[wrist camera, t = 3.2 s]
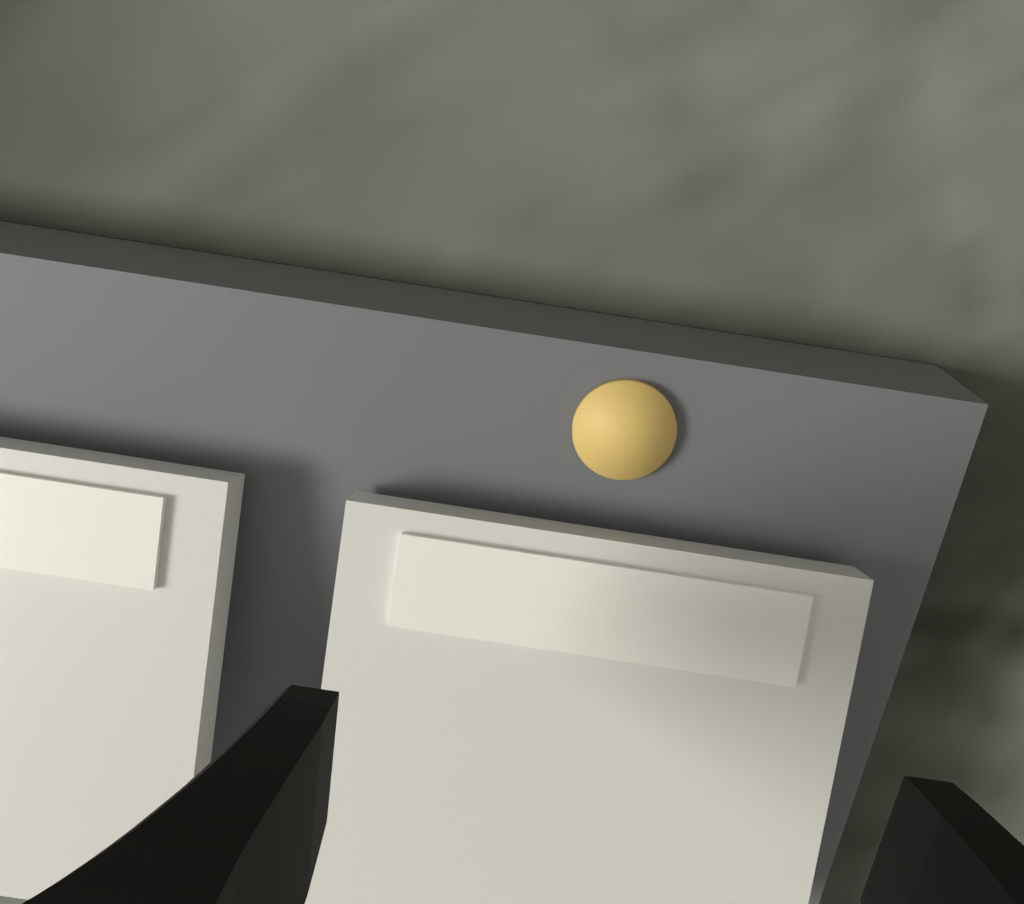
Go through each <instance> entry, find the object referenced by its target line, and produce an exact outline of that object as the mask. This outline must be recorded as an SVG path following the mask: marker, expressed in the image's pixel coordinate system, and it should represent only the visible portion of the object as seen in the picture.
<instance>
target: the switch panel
mask: <svg viewBox="0 0 1024 904" xmlns="http://www.w3.org/2000/svg"><path fill="white" fill-rule="evenodd" d="M987 408H988V404H987V403H986V402H984V401H983V400H982V399H980V398H979V397H978V396H976V395H975V394H974V393H972V392H971V391H970V390H968V389H967V388H966V387H964V386H963V385H962V384H960V383H959V382H958V381H956V380H955V379H954V378H952V377H951V376H950V375H948V374H947V373H946V372H944V371H943V370H942V369H940V368H939V367H938V366H936V365H934V364H928V363H921V362H915V361H908V360H902V359H895V358H889V357H882V356H876V355H869V354H863V353H856V352H850V351H843V350H837V349H830V348H824V347H817V346H811V345H804V344H798V343H791V342H785V341H778V340H772V339H765V338H759V337H752V336H746V335H739V334H733V333H726V332H720V331H713V330H707V329H700V328H694V327H687V326H681V325H674V324H668V323H661V322H655V321H648V320H642V319H635V318H629V317H622V316H616V315H609V314H603V313H596V312H590V311H583V310H577V309H570V308H564V307H557V306H551V305H544V304H538V303H531V302H525V301H518V300H512V299H505V298H499V297H492V296H486V295H479V294H473V293H466V292H460V291H453V290H447V289H440V288H434V287H427V286H421V285H414V284H408V283H401V282H395V281H388V280H382V279H375V278H369V277H362V276H356V275H349V274H343V273H336V272H330V271H323V270H317V269H310V268H304V267H297V266H291V265H284V264H278V263H271V262H265V261H258V260H252V259H245V258H239V257H232V256H226V255H219V254H213V253H206V252H200V251H193V250H187V249H180V248H174V247H167V246H161V245H154V244H148V243H141V242H135V241H128V240H122V239H115V238H109V237H102V236H96V235H89V234H82V233H76V232H69V231H63V230H56V229H50V228H43V227H37V226H30V225H24V224H17V223H11V222H4V221H0V437H7V438H13V439H20V440H26V441H33V442H39V443H46V444H53V445H59V446H66V447H72V448H79V449H86V450H92V451H99V452H105V453H112V454H118V455H125V456H132V457H138V458H145V459H151V460H158V461H164V462H171V463H178V464H184V465H191V466H197V467H204V468H210V469H217V470H224V471H230V472H237V473H243V474H245V479H244V487H243V495H242V504H241V512H240V521H239V529H238V537H237V546H236V554H235V562H234V571H233V579H232V587H231V596H230V604H229V612H228V621H227V629H226V637H225V646H224V654H223V663H222V671H221V679H220V688H219V696H218V704H217V713H216V721H215V729H214V738H213V746H212V754H211V761H212V760H213V759H215V758H216V757H217V756H218V755H219V754H220V753H221V752H222V751H223V750H224V749H226V748H227V747H228V746H229V745H230V744H231V743H232V742H233V741H234V740H235V739H236V738H237V737H238V736H239V735H240V734H241V733H242V732H243V731H244V730H245V729H246V728H247V727H248V726H249V725H250V724H251V723H252V722H253V721H254V720H255V719H256V718H257V717H258V716H259V715H260V714H261V713H262V712H263V711H264V710H265V709H266V708H267V707H268V705H269V704H270V703H271V702H272V701H273V700H274V699H275V698H276V697H277V696H278V695H279V694H280V693H281V692H282V691H283V690H284V689H286V688H287V687H289V686H290V685H297V686H304V687H311V688H317V689H321V685H322V677H323V670H324V662H325V655H326V647H327V640H328V632H329V625H330V617H331V610H332V602H333V595H334V587H335V580H336V572H337V565H338V557H339V550H340V542H341V535H342V527H343V520H344V512H345V505H346V500H347V499H348V498H349V497H350V496H351V495H352V494H353V493H354V492H355V491H362V492H368V493H375V494H381V495H388V496H395V497H401V498H408V499H414V500H421V501H427V502H434V503H441V504H447V505H454V506H460V507H467V508H474V509H480V510H487V511H493V512H500V513H506V514H513V515H520V516H526V517H533V518H539V519H546V520H552V521H559V522H566V523H572V524H579V525H585V526H592V527H598V528H605V529H612V530H618V531H625V532H631V533H638V534H644V535H651V536H658V537H664V538H671V539H677V540H684V541H690V542H697V543H704V544H710V545H717V546H723V547H730V548H737V549H743V550H750V551H756V552H763V553H769V554H776V555H783V556H789V557H796V558H802V559H809V560H815V561H822V562H829V563H835V564H842V565H848V566H854V567H855V568H857V569H858V570H860V571H861V572H863V573H864V574H865V575H867V576H868V577H870V578H871V579H873V580H874V583H873V587H872V592H871V597H870V602H869V607H868V612H867V617H866V622H865V627H864V632H863V637H862V642H861V647H860V652H859V656H858V661H857V666H856V671H855V676H854V681H853V686H852V691H851V696H850V701H849V706H848V711H847V716H846V721H845V725H844V730H843V735H842V740H841V745H840V750H839V755H838V760H837V765H836V770H835V775H834V780H833V785H832V790H831V794H830V799H829V804H828V809H827V814H826V819H825V824H824V829H823V834H822V839H821V844H820V849H819V854H818V858H817V863H816V868H815V873H814V878H813V883H812V888H811V893H810V898H809V903H808V904H819V902H820V899H821V896H822V893H823V890H824V887H825V884H826V881H827V878H828V875H829V872H830V869H831V866H832V863H833V861H834V858H835V855H836V852H837V849H838V846H839V843H840V840H841V837H842V834H843V831H844V828H845V825H846V822H847V819H848V816H849V813H850V811H851V808H852V805H853V802H854V799H855V796H856V793H857V790H858V787H859V784H860V781H861V778H862V775H863V772H864V769H865V766H866V763H867V761H868V758H869V755H870V752H871V749H872V746H873V743H874V740H875V737H876V734H877V731H878V728H879V725H880V722H881V719H882V716H883V713H884V711H885V708H886V705H887V702H888V699H889V696H890V693H891V690H892V687H893V684H894V681H895V678H896V675H897V672H898V669H899V666H900V664H901V661H902V658H903V655H904V652H905V649H906V646H907V643H908V640H909V637H910V634H911V631H912V628H913V625H914V622H915V619H916V616H917V614H918V611H919V608H920V605H921V602H922V599H923V596H924V593H925V590H926V587H927V584H928V581H929V578H930V575H931V572H932V569H933V566H934V564H935V561H936V558H937V555H938V552H939V549H940V546H941V543H942V540H943V537H944V534H945V531H946V528H947V525H948V522H949V519H950V517H951V514H952V511H953V508H954V505H955V502H956V499H957V496H958V493H959V490H960V487H961V484H962V481H963V478H964V475H965V472H966V469H967V467H968V464H969V461H970V458H971V455H972V452H973V449H974V446H975V443H976V440H977V437H978V434H979V431H980V428H981V425H982V422H983V419H984V417H985V414H986V411H987Z"/></svg>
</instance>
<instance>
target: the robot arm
mask: <svg viewBox="0 0 1024 904" xmlns="http://www.w3.org/2000/svg"><path fill="white" fill-rule="evenodd" d="M338 701H339V692H337V691H331V690H324V689H317V688H311V687H304V686H297V685H290V686H289V687H287V688H286V689H284V690H283V691H282V692H281V693H280V694H279V695H278V696H277V697H276V698H275V699H274V700H273V701H272V702H271V703H270V704H269V705H268V707H267V708H266V709H265V710H264V711H263V712H262V713H261V714H260V715H259V716H258V717H257V718H256V719H255V720H254V721H253V722H252V723H251V724H250V725H249V726H248V727H247V728H246V729H245V730H244V731H243V732H242V733H241V734H240V735H239V736H238V737H237V738H236V739H235V740H234V741H233V742H232V743H231V744H230V745H229V746H228V747H227V748H226V749H224V750H223V751H222V752H221V753H220V754H219V755H218V756H217V757H216V758H215V759H213V760H212V761H211V762H210V763H209V764H208V765H207V766H206V767H205V768H204V769H202V770H201V771H200V772H199V773H198V774H197V775H196V776H195V777H194V778H193V779H192V780H190V781H189V782H188V783H187V784H186V785H185V786H184V787H182V788H181V789H180V790H179V791H178V792H176V793H175V794H174V795H173V796H172V797H170V798H169V799H168V800H167V801H165V802H164V803H163V804H162V805H161V806H159V807H158V808H157V809H156V810H154V811H153V812H152V813H151V814H149V815H148V816H147V817H146V818H145V819H143V820H142V821H141V822H140V823H138V824H137V825H136V826H135V827H133V828H132V829H131V830H130V831H128V832H127V833H126V834H124V835H123V836H122V837H120V838H119V839H118V840H116V841H115V842H114V843H112V844H111V845H110V846H108V847H107V848H106V849H104V850H103V851H101V852H100V853H99V854H97V855H96V856H94V857H93V858H92V859H90V860H89V861H87V862H86V863H84V864H83V865H81V866H80V867H78V868H77V869H76V870H74V871H73V872H71V873H70V874H68V875H67V876H65V877H64V878H62V879H61V880H59V881H58V882H56V883H55V884H53V885H52V886H50V887H48V888H47V889H45V890H44V891H42V892H40V893H39V894H37V895H35V896H34V897H32V898H31V899H29V900H27V901H26V902H24V903H23V904H305V901H306V899H307V895H308V891H309V888H310V884H311V880H312V877H313V873H314V869H315V865H316V862H317V858H318V854H319V850H320V846H321V842H322V838H323V835H324V831H325V827H326V823H327V815H328V805H329V795H330V784H331V774H332V763H333V753H334V743H335V732H336V722H337V712H338ZM860 900H861V904H1024V846H1023V845H1022V844H1021V843H1020V842H1019V841H1018V840H1017V839H1016V838H1015V837H1013V836H1012V835H1011V834H1010V833H1009V832H1008V831H1007V830H1006V829H1005V828H1004V827H1003V826H1002V825H1000V824H999V823H998V822H997V821H996V820H995V819H994V818H993V817H992V816H991V815H989V814H988V813H987V812H986V811H985V810H984V809H983V808H982V807H980V806H979V805H978V804H977V803H976V802H975V801H974V800H972V799H971V798H970V797H969V796H968V795H967V794H965V793H964V792H963V791H962V790H961V789H959V788H958V787H957V786H956V785H954V784H953V783H950V782H943V781H936V780H930V779H923V778H916V777H909V776H904V779H903V782H902V784H901V787H900V790H899V793H898V796H897V798H896V801H895V804H894V807H893V810H892V812H891V815H890V818H889V821H888V824H887V826H886V829H885V832H884V835H883V838H882V840H881V843H880V846H879V849H878V852H877V854H876V857H875V860H874V863H873V866H872V868H871V871H870V874H869V877H868V880H867V882H866V885H865V888H864V891H863V894H862V896H861V899H860Z"/></svg>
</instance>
